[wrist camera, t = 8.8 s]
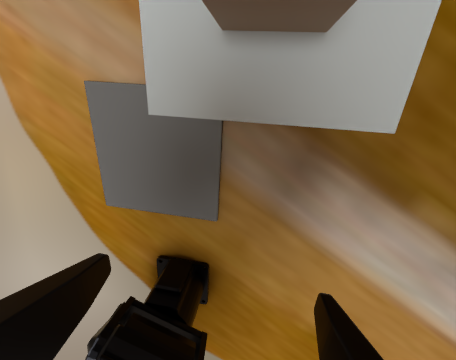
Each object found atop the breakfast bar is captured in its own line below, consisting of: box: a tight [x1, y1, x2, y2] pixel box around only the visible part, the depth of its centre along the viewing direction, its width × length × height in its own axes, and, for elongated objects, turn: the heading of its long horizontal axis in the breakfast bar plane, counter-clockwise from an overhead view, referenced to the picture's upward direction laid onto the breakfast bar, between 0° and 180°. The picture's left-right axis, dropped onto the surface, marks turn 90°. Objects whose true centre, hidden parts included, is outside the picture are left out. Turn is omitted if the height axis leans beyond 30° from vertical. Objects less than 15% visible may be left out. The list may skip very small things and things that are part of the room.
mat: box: [84, 81, 223, 221], centre depth 21 cm, size 13×13×1 cm
